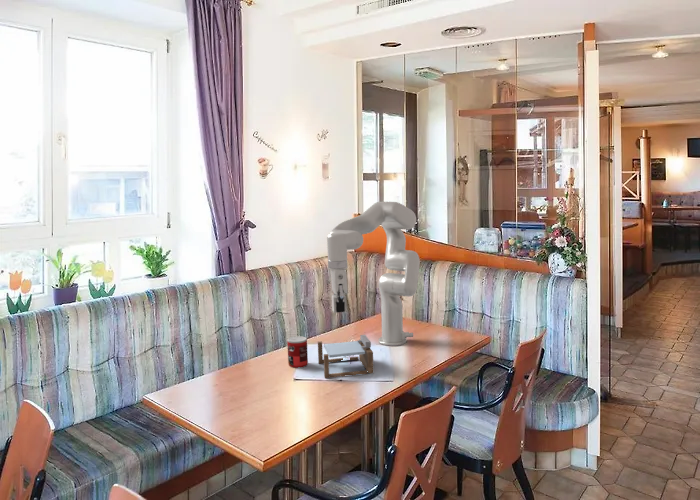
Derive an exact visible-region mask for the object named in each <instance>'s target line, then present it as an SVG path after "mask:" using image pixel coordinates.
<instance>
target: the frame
mask: <svg viewBox="0 0 700 500" xmlns="http://www.w3.org/2000/svg"><path fill="white" fill-rule="evenodd" d="M359 344H360V345H361V346H365V345H364V344H363V343H362V342H359ZM363 349H364V351H365V354H360V355H359V356H349V357H350V360H355V361H360V363H361V362H362V363H361V365H364V366H363V368H364V369H365V368H366V369H365V370H356V371H353V370H352V371H345V372H335V373H330V363H329V362H333V363H338V362H337V361H341V360H343V358H344V357H340V358H339V357H336V358H329V355H328V353H324V354H323V352H324V351H323V342H322V341H317V355H318V358H317V362H318V365H323V367H324V368H323V375H324V379H330V378H338V377H337V376H342V377H346V376H345V375H352V376H357V375H356V374H362V375H368V373H370V374H374V351H373V350H372V349H371V348H363ZM359 359H360V360H359ZM367 371H368V372H367Z"/></svg>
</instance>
